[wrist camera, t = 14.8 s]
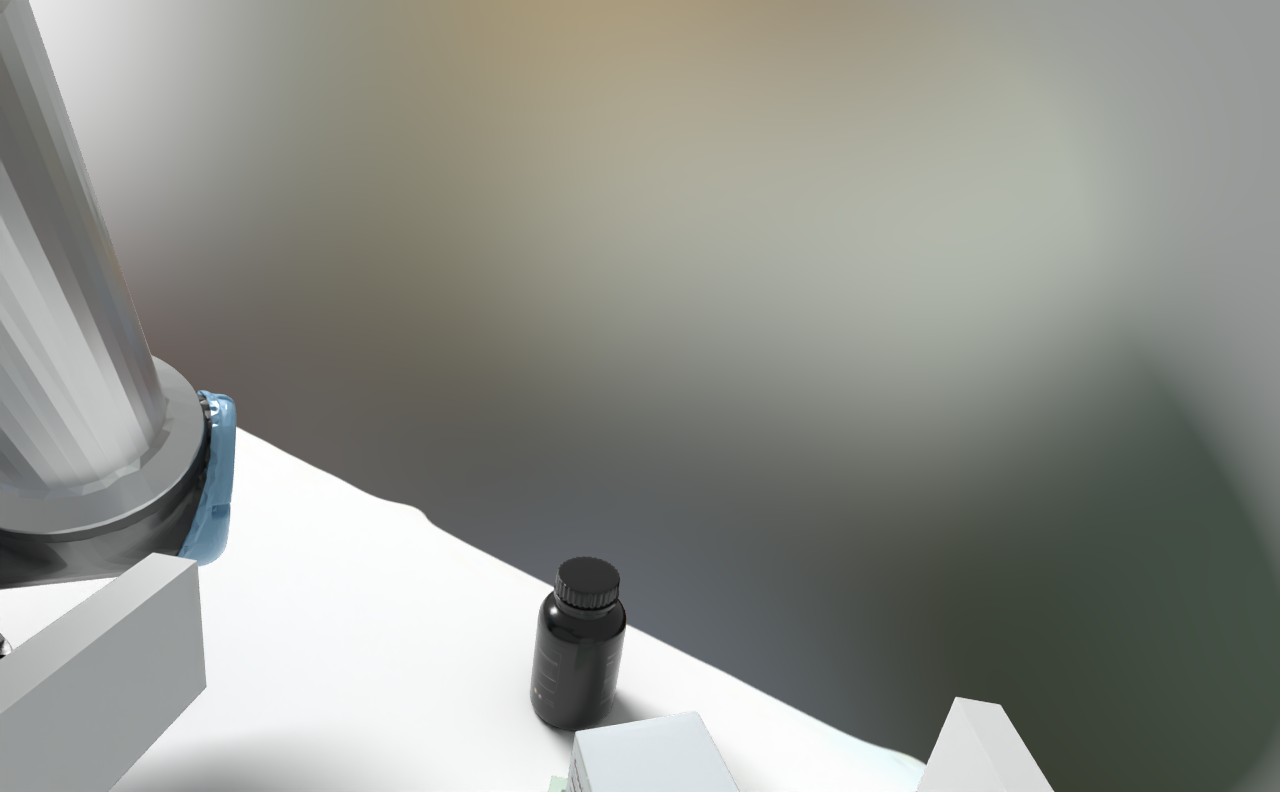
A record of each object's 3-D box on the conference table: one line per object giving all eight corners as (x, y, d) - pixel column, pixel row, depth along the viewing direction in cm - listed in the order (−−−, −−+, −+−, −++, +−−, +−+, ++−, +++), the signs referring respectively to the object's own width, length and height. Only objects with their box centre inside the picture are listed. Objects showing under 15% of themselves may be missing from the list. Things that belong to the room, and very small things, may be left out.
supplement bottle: (586, 658, 55) (606, 541, 52) (628, 715, 50) (653, 589, 46) (514, 683, 52) (529, 558, 48) (551, 747, 46) (571, 613, 43)
